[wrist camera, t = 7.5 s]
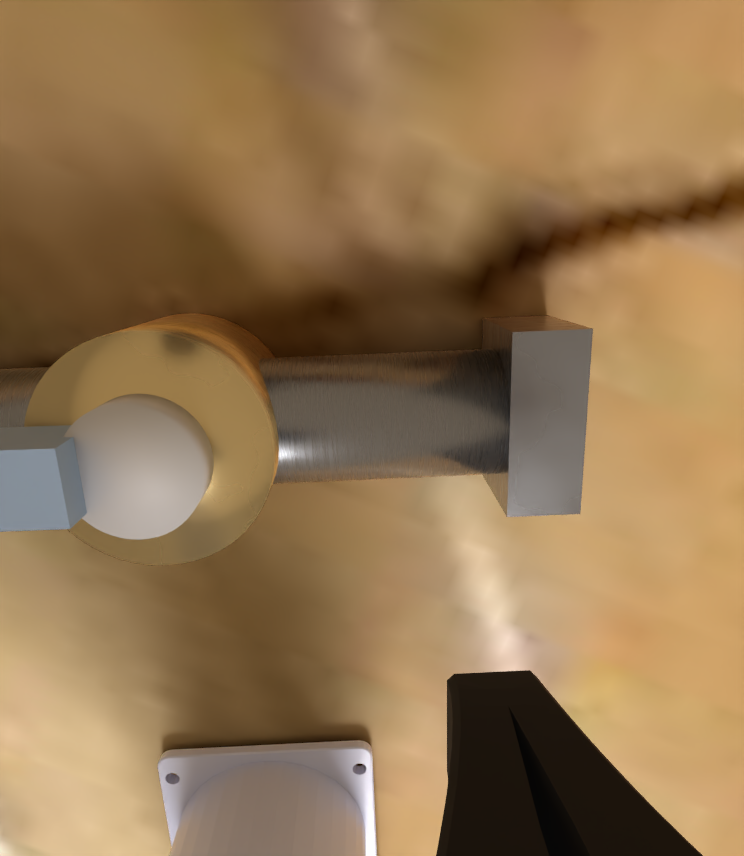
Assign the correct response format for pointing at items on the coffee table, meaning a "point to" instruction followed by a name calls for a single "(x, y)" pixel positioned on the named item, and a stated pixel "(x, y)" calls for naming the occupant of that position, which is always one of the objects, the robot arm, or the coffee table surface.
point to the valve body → (332, 416)
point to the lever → (107, 470)
